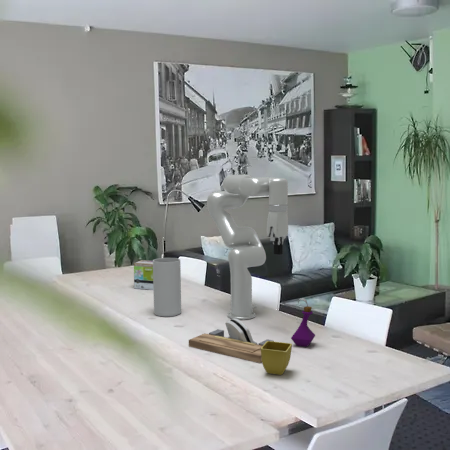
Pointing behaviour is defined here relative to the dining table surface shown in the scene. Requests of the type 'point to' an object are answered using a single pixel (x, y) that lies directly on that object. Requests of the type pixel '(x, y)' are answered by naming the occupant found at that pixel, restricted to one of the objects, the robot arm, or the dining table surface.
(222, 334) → the locator block
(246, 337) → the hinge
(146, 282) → the tea box
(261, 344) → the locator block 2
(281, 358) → the flower pot
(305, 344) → the perfume bottle
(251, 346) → the wooden plank
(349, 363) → the dining table surface
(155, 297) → the cylinder vase
